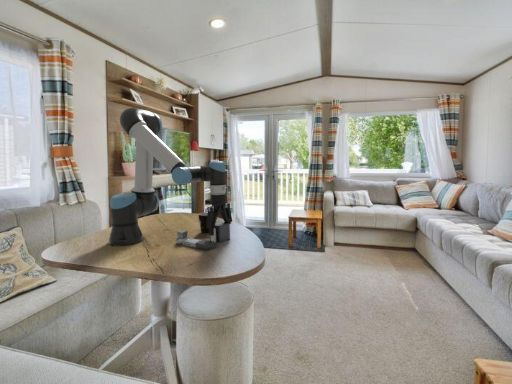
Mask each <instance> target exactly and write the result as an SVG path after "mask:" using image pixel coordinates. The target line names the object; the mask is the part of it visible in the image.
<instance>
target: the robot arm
mask: <svg viewBox="0 0 512 384" xmlns="http://www.w3.org/2000/svg"><path fill="white" fill-rule="evenodd" d="M119 125H120V127H121V128H122V130H123V131H124V132H125V133H126V134H127V135H128V136H129V137H130V138H131V139H135V162H134V186H133V188H131V192H124V193H118V194H114V195H113V196H111V197H110V199H109V201H110V202H109V207H110V217H111V230H110V234H109V238H108V242H109V243H110V244H112V245H111V246H114V245H120V246H119V247H122V245H123V246H130V245H131V246H132V245H134V244H138V243H140V242H142V241H144V237H143V235H144V234H143V233H142V229H141V228H140V226H139V218H140V217H142V216H148V215H150V214H151V213H154V212H156V210H157V209H158V207H159V203H160V200H159V197H158V196H157V194H156V189H155V188H154V187H153V172H154V171H153V170H154V169H153V168H154V158H155V159H156V160H157V162H159V163H160V164H161V165H162V166H163V167H164V168H165V169H166V170H167V171H168V172H169V173H171V179H172V181H173V182H174V183H175V184H176V185H188V184H192V183H200V182H209V188H210V202H211V203H212V204H211V206H207V212H208V214H207V223H206V228H209V229H210V233H209V236H210V235H211V241H214V242H216V229H215V228H214V227H215V223H216V222H217V219H218V216H219V215H221V218H222V220H223V222H225V223H230V225H231V224H232V222H233V218H232V212H231V208H230V207H231V205H230V203H226V202H227V184H226V183H227V182H226V181H227V178H226V177H227V176H226V162H224V161H210V162H209V164H208V165H191V166H188V165H187V164H186V163H185V162H184V161H183V159H181V158H180V157H178V155H177V154H176V153H175V152H174V151H173V150H172V149H171V148H169V147H168V146H167V145H166V144H165V142H163V141H162V140H161V139H160V138H159V137H158V134H159V133H160V132H161V131H162V129H163V122H162V120H161V118H160V116H159V115H158V114H157V113H155V112H153V111H151V110H146V109H141V108H137V107H128V108H126V109H124V110H123V111H122V112H121V113H120V116H119ZM109 243H108V244H109ZM216 243H217V242H216ZM110 244H109V245H110Z"/></svg>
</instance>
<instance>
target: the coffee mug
mask: <svg viewBox="0 0 512 384" xmlns="http://www.w3.org/2000/svg"><path fill="white" fill-rule="evenodd" d="M207 214H208V211H207V212H199V213H198V215H197V216H198V221H199V227H200V232H201V234H210V232H209V228H206V223H207Z"/></svg>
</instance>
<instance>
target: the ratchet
mask: <svg viewBox="0 0 512 384" xmlns="http://www.w3.org/2000/svg"><path fill="white" fill-rule="evenodd" d="M176 232H177V237H176V238H175V243H176V245H180V246H181V245H182V246H187V247H190V248H195V249H198V250H202V251H206V252H207V251H209V250H212V249H214V248H217V247H216V245H217V244H216V243H217V242H214V241H210V240H208V239H202V240H201V239H197V238H196V239H195V238H193V237H191V238H190V237H189V236H188V230H183V229H182V230H180V231H179V230H178V231H176Z"/></svg>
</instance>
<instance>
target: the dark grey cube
mask: <svg viewBox="0 0 512 384" xmlns="http://www.w3.org/2000/svg"><path fill="white" fill-rule="evenodd" d="M230 225H231V224H230V223H225V222H224V221H216V223H215V227H214V228H215V229H216V243H220V242H221V243H223V242H225V240H226V241H228V239H229V240H231V230H230V229H231V227H230ZM209 232H210V229H209ZM209 241H211V235H210V234H209Z"/></svg>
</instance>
